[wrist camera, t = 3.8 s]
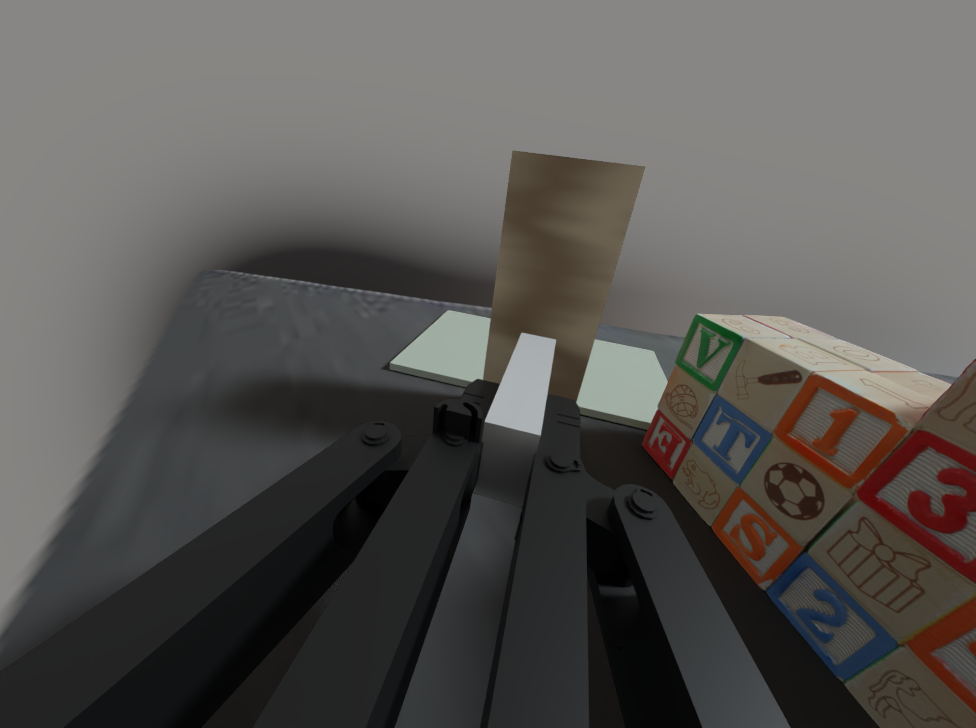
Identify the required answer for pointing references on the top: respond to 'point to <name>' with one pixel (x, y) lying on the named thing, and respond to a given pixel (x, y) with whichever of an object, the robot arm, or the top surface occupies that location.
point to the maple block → (558, 259)
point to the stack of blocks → (838, 501)
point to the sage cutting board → (606, 384)
